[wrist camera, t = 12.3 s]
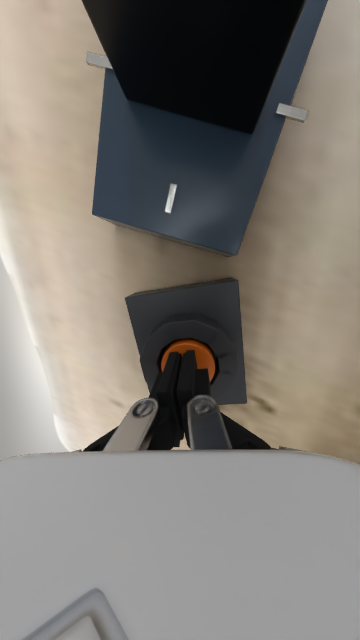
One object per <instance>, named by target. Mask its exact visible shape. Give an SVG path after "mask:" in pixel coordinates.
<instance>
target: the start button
mask: <svg viewBox="0 0 360 640" xmlns="http://www.w3.org/2000/svg"><path fill="white" fill-rule="evenodd" d="M187 350H195V355H196V361H197V368H198V369H205V368H208V372H209V379H210V381H211V380H212V378H213V376H214V373H215V362H214V355H213V350H212V349H211V348H210V346H209V345H208V344H207V343H204V342H202V341H199V340H197V339H194V338H184V339H175V340H173V341H172V342H170V343H169V344H168V346H167V348H166V351H165V353H164V356H163V358H162V362H161V368H162V372H163V370H164V367H165V364H166V361H167V358H168V356H169V353H170V352H177V351H178V353H181V354H182V357H183V353H186V351H187Z"/></svg>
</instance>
